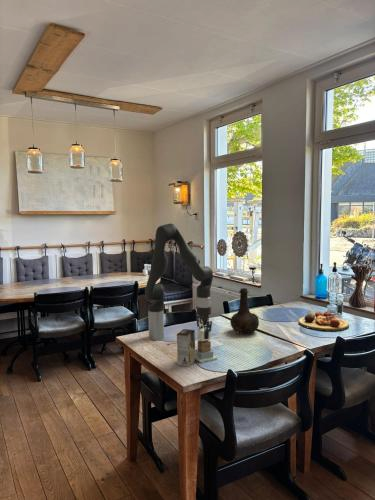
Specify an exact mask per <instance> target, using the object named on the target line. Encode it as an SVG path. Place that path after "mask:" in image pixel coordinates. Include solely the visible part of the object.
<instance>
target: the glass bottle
mask: <svg viewBox="0 0 375 500" xmlns="http://www.w3.org/2000/svg"><path fill="white" fill-rule="evenodd" d="M238 293H239V295H240V297H239V306H238V311H237V312H236V313H234V314H233V315H232V316H231V317H230V322H229V323H230V327H231V328H232V330H234V332H236V333H238V334H242V335H250V334H253V333H254V332H256V331H257V329H258V328H259V324H260V321H259V320H260V319H259V318H260V317H258V315H257V314H255V313H252V312H251V311H250V307H249V300H248V299H249V297H248V293H250V292H249V290H248V288H245V287H243V288H240V291H239V292H238Z"/></svg>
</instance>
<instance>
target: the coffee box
mask: <svg viewBox="0 0 375 500" xmlns="http://www.w3.org/2000/svg"><path fill="white" fill-rule="evenodd" d="M195 331H196V330H195V329H186V328H183V329H181V330H180V331H179V332H178V333H177V334H176V350H177V353H176V354H177V365H178V366H184V367H190V366H191V365H192V364H193V363H194V362H195V361H196V359H195V349H196V341H195V339H196V334H195V333H196V332H195Z"/></svg>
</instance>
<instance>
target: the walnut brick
mask: <svg viewBox="0 0 375 500" xmlns="http://www.w3.org/2000/svg"><path fill="white" fill-rule="evenodd" d="M211 342H212V341H211V340H206V341H201V340H199V339H198V340H197V349H198V350H199V351H200V352H202V353H204V352H209V351H211V350H212V349H211V347H212V346H211Z"/></svg>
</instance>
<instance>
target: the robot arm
mask: <svg viewBox="0 0 375 500" xmlns="http://www.w3.org/2000/svg"><path fill="white" fill-rule="evenodd" d="M154 236H155V238H154V239H155V240H154V249H153V255H152V259H151V265H150V269H149V270H150V271H149V275H148V279H147V282H146V285H145V290H144V297H145V299H146V300H147V301H153V300H154V302H153V303H151V304H149V305H148V307H147V311H148V339H149V340H152V341H161V340H163V339H165V319H164V315H165V313H164V305H165V288H164V285H163V284H162V283H157V282H159V281H158V280H160V279H161V278H162V276H163V275H164V274H165V273H166V272H167V268H168V265H169V258H168V255H167V253H166V252H165V249H166V244H167V243H168V242H170V241H174V242H175V244H176V245H177V247H178V251H179V256H180V258H181V260H182V261H183V262H184V263H185V264H186V266H187V267H188V268H189V271H190V272H191V276H192V277H193V279H195V280H196V281H197V282H200V284H199V285H197V287H196V303H195V305H196V307H195V308H196V310H195V311H196V316H195V319H196V326H197V328H198V329H201V328H204V339H208V338H209V332H210V331H211V332H212V327H213V325H212V324H213V321H212V320H210V317H209V316H210V315H212V299H211V287H212V283H213V278H214V272H213V270H212V268H211V267H210V266H206V265H205V266H200V263H201V259H200V258H199V257H198V255H196V254H195V252H194V251H193V250H192V248H191V247H190V246H189V245H188V243H187V242H186V239H185V238H184V236H183V235H182V233H181V232H180V230H179V229H178V227H177V226H176V225H175V224H174V223H166V224H163V225H159V226H158V227H157V228H156V231H155V235H154Z"/></svg>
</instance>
